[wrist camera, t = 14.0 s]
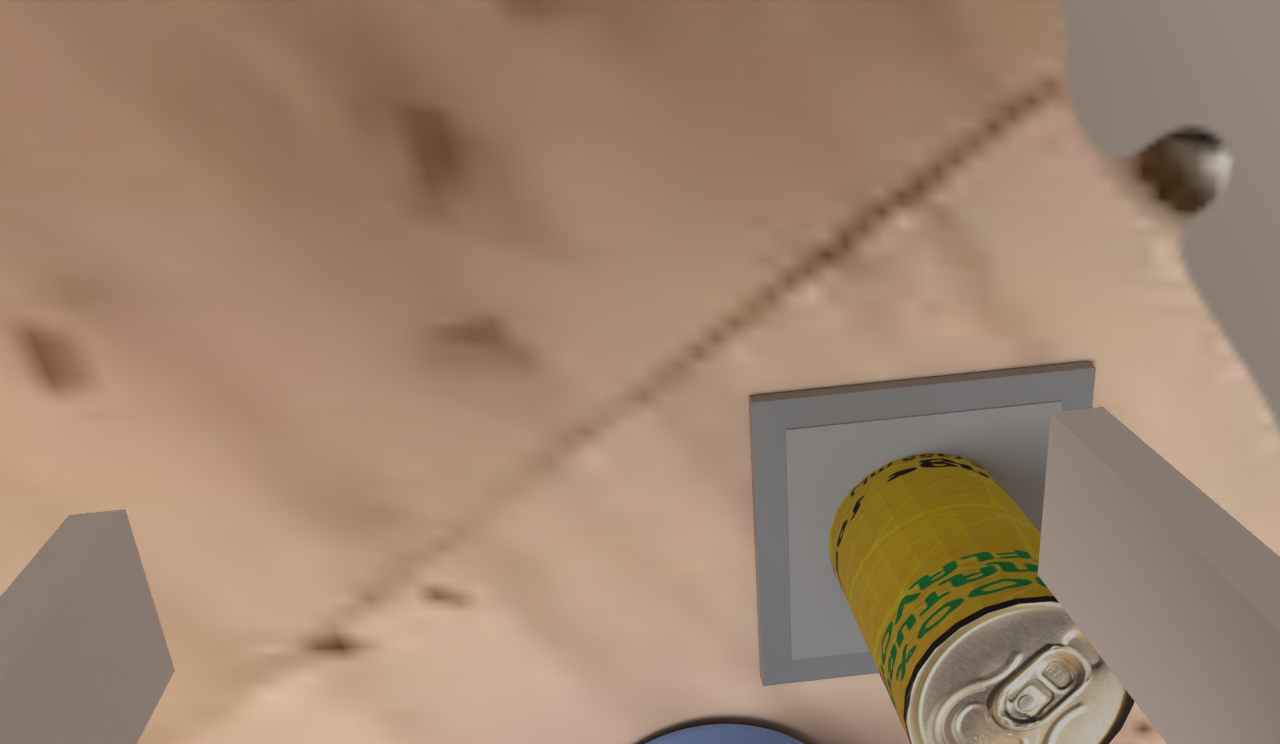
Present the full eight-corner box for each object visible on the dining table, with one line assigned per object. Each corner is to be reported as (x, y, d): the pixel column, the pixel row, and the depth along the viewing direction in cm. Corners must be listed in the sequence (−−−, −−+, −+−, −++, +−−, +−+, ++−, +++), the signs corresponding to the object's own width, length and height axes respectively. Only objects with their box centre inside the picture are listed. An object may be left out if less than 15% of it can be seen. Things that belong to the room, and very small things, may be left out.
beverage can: (791, 559, 51) (857, 731, 40) (912, 418, 48) (1018, 560, 37) (927, 641, 53) (1025, 824, 42) (1048, 512, 51) (1186, 670, 40)
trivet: (760, 676, 54) (763, 687, 54) (748, 395, 48) (752, 403, 47) (1060, 641, 55) (1068, 652, 54) (1087, 361, 49) (1096, 368, 48)
